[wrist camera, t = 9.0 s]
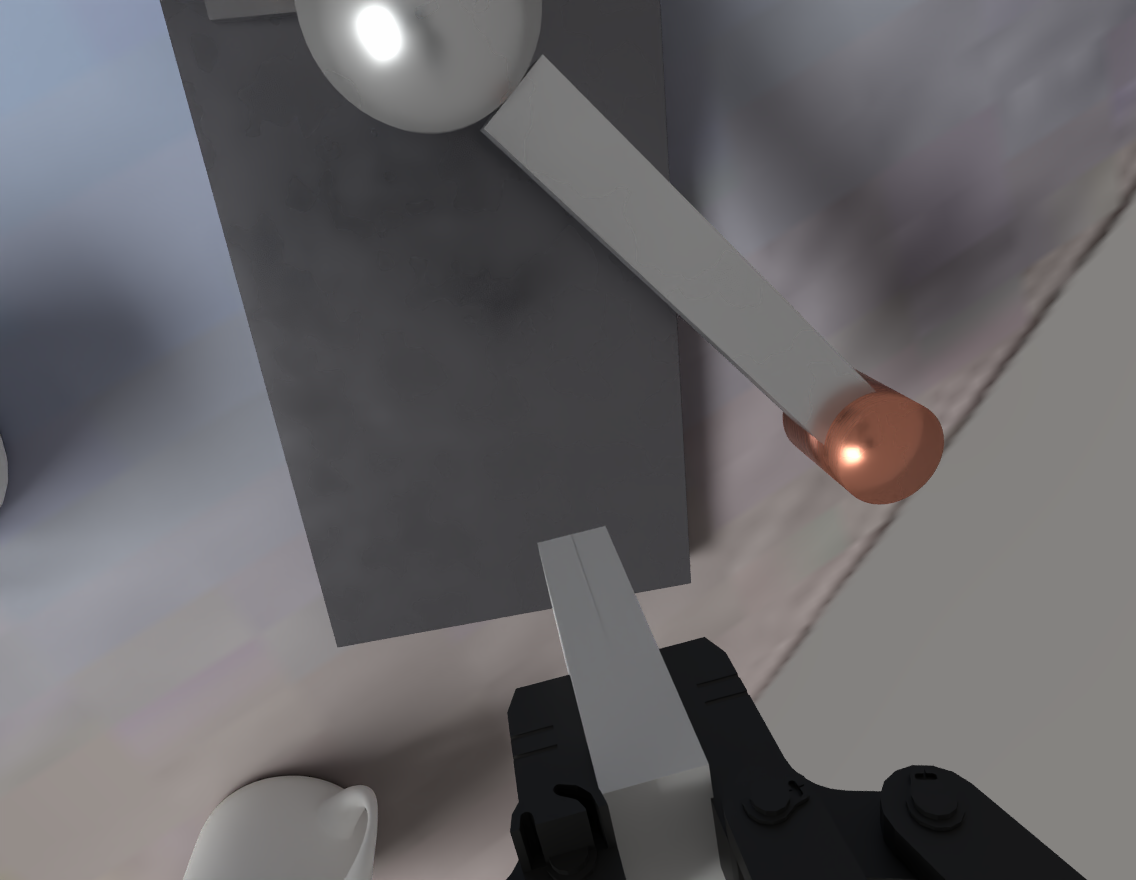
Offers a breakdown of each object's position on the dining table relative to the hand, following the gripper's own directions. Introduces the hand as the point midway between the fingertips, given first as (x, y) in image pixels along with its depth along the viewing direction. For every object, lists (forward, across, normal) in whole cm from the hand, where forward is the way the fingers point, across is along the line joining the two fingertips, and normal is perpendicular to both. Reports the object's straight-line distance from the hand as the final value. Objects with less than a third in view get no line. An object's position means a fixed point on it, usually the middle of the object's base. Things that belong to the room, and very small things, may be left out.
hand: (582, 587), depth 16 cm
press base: (+17, -1, +4) cm, 17 cm away
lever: (+11, +4, +7) cm, 14 cm away
